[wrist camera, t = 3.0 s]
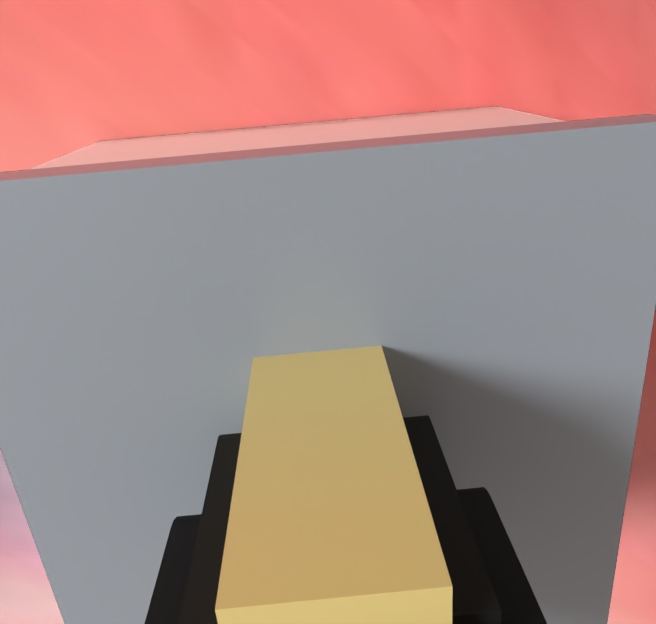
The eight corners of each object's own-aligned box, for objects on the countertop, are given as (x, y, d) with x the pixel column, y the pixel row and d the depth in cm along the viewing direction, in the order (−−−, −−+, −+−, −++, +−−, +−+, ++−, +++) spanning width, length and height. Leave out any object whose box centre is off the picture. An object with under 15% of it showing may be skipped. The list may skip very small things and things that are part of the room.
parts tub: (100, 141, 16) (-32, 193, 10) (496, 105, 16) (627, 133, 10) (173, 465, 20) (115, 651, 14) (485, 436, 21) (571, 605, 14)
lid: (-26, 167, 10) (-544, 333, 4) (616, 109, 11) (1111, 182, 4) (118, 624, 15) (-16, 1044, 9) (565, 580, 15) (762, 960, 9)
